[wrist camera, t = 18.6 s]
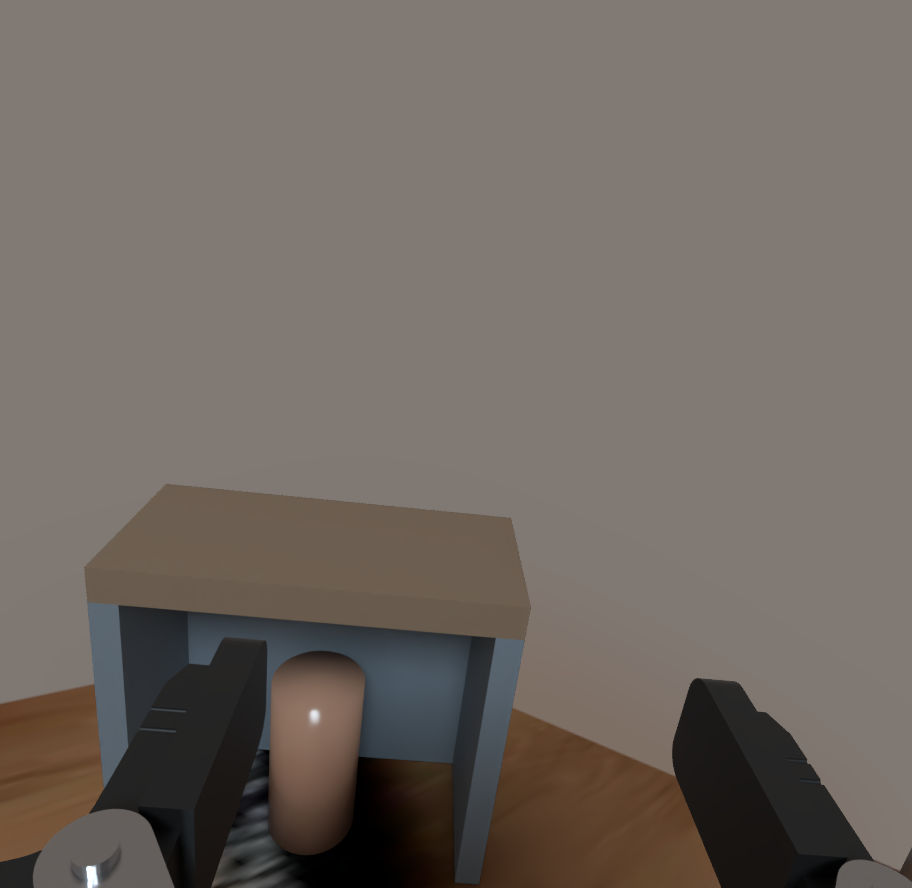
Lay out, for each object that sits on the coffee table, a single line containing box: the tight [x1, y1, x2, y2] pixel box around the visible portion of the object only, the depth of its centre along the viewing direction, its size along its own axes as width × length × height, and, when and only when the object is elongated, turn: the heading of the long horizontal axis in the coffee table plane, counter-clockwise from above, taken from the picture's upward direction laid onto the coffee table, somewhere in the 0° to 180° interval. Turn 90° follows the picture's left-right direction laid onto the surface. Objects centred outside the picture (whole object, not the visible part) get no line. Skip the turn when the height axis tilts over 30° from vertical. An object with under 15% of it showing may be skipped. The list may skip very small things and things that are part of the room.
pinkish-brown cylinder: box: [268, 651, 365, 855], centre depth 41 cm, size 6×6×11 cm
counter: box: [84, 484, 531, 884], centre depth 40 cm, size 22×10×20 cm, turn 91°
